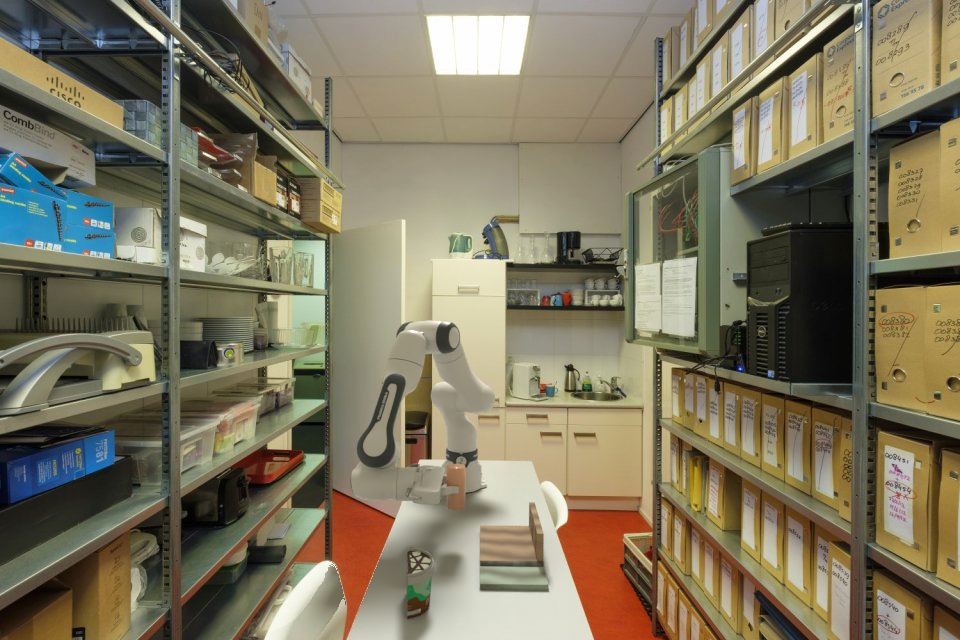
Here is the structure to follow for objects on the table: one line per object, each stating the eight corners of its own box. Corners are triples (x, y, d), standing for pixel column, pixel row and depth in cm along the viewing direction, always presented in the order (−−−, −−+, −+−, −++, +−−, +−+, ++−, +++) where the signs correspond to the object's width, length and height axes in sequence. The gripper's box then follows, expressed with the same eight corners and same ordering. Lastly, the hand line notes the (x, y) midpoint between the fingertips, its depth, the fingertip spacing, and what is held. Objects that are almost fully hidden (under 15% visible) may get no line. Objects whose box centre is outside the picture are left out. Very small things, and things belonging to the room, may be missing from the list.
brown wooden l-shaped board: (480, 532, 139) (480, 501, 139) (534, 532, 139) (534, 502, 139) (479, 589, 110) (480, 550, 110) (548, 589, 110) (548, 551, 110)
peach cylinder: (446, 502, 133) (447, 463, 133) (465, 502, 133) (465, 463, 133) (446, 510, 128) (446, 469, 128) (465, 510, 128) (465, 469, 128)
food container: (436, 620, 98) (437, 573, 98) (407, 623, 97) (407, 575, 97) (433, 587, 110) (433, 544, 110) (406, 589, 109) (407, 546, 109)
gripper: (403, 486, 120) (457, 487, 120) (415, 461, 141) (461, 462, 141) (403, 510, 120) (457, 511, 120) (414, 482, 141) (460, 483, 141)
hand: (459, 484), depth 131 cm, fingers closed on peach cylinder, 5 cm apart
